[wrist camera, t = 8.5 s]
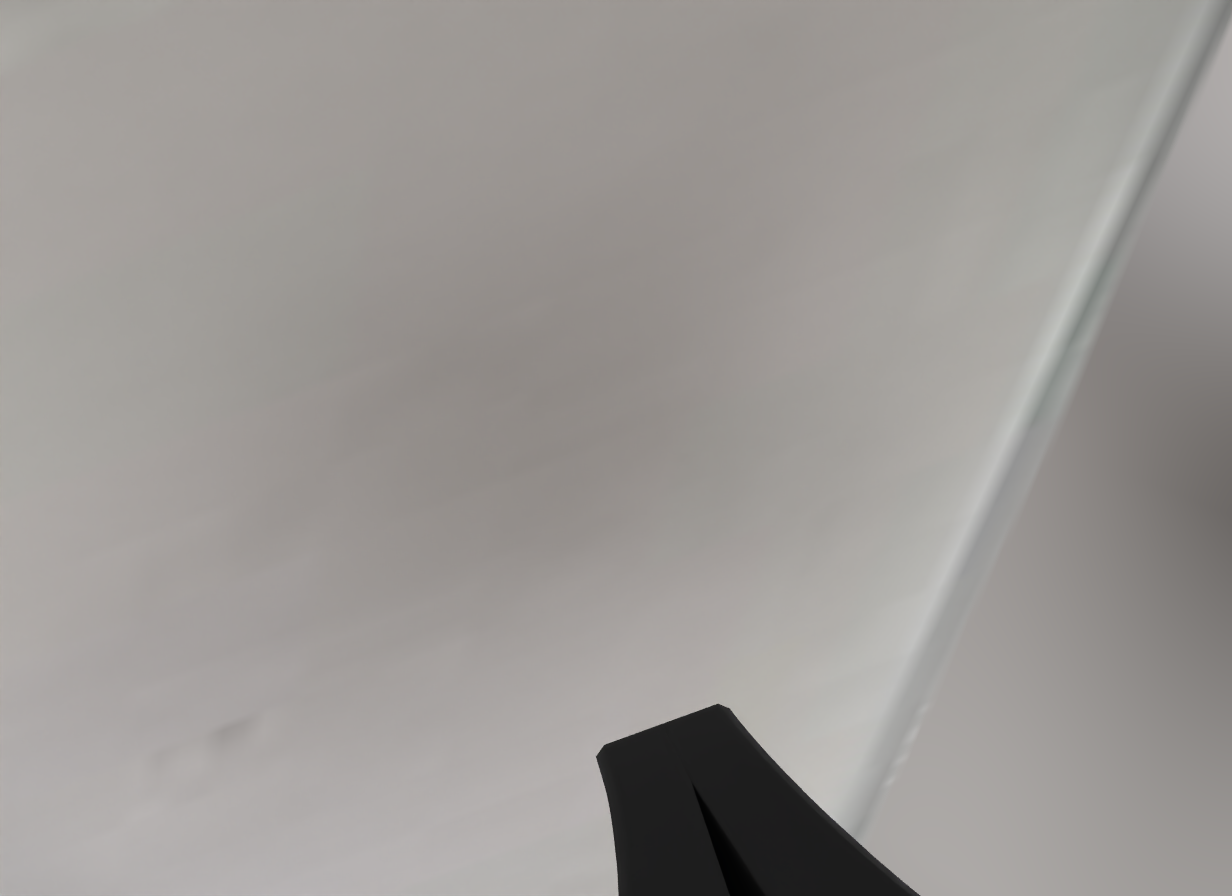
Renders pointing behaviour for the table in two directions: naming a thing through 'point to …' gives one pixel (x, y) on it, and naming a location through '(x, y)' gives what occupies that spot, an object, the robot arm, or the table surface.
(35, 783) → the table surface
